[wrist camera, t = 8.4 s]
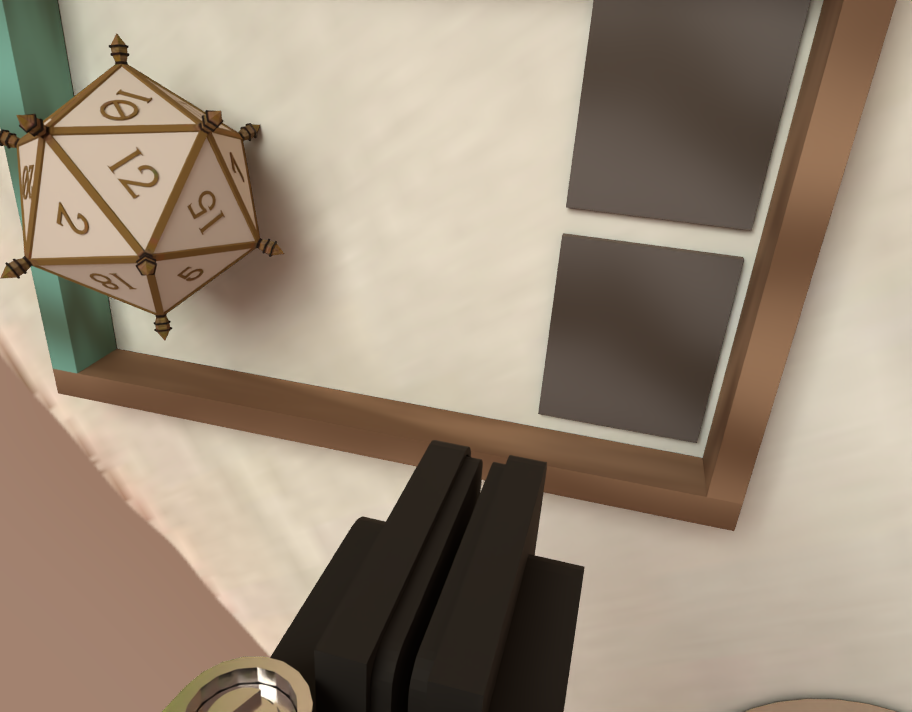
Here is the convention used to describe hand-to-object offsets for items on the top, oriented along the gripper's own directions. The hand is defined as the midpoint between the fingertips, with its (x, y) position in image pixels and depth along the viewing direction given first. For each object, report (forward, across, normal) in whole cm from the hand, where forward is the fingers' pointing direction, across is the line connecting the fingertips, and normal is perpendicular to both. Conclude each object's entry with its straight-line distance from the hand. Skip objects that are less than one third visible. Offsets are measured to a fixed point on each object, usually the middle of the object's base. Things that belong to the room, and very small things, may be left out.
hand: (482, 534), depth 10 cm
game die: (+16, +15, -1) cm, 22 cm away
